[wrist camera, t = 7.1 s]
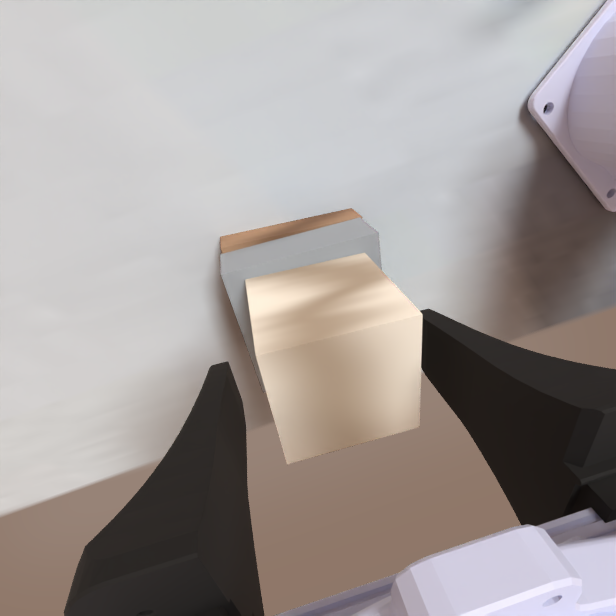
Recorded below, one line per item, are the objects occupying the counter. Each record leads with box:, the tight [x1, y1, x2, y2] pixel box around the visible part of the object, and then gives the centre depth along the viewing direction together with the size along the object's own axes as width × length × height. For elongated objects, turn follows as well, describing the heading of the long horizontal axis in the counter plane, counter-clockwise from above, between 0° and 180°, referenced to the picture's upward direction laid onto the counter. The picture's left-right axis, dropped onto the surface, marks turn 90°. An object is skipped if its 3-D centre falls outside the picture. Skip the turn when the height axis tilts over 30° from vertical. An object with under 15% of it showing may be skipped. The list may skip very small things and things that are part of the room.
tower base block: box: [220, 208, 362, 254], centre depth 19 cm, size 6×6×2 cm
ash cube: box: [245, 253, 423, 465], centre depth 14 cm, size 5×5×5 cm
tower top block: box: [220, 217, 382, 392], centre depth 17 cm, size 6×6×2 cm
